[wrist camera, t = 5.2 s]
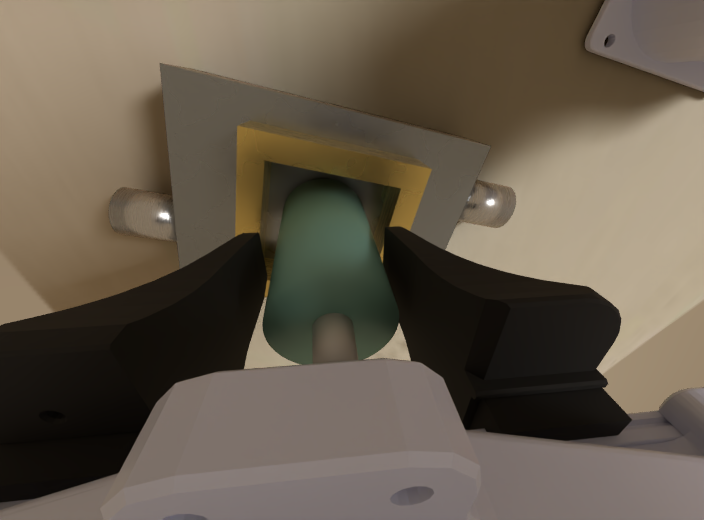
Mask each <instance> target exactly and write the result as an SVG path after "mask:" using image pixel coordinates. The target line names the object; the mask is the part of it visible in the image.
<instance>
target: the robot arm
mask: <svg viewBox="0 0 704 520" xmlns="http://www.w3.org/2000/svg"><path fill="white" fill-rule="evenodd" d="M607 37H608V42H607V44H606V46H604V42H605V39H606V38H607ZM585 48H586V50H588V51H589V52H592V53H595V54H597V55H600V56H603V57H606V58H609V59H612V60H614V61H617V62H620V63H623V64H626V65H629V66H631V67H634V68H637V69H640V70H643V71H646V72H648V73H651V74H654V75H657V76H660V77H663V78H665V79H668V80H671V81H674V82H677V83H680V84H682V85H685V86H688V87H691V88H694V89H697V90H699V91H702V92H704V0H605V1H604V3H603V5H602V7H601V9H600V11H599V13H598V15H597V17H596V19H595V21H594V23H593V25H592V27H591V29H590V31H589V33H588V35H587V37H586V40H585ZM383 266H384V269H385V272H386V274H387V277H388V280H389V283H390V286H391V289H392V292H393V295H394V297H395V300H396V303H397V306H398V310H399V323H400V326H401V328H402V331H403V334H404V337H405V340H406V343H407V347H408V351H409V354H410V358H411V361H406V360H396V359H387V358H380V359H367V360H355V361H342V362H330V363H317V364H305V365H292V366H280V367H267V368H255V369H244V366H245V360H246V355H247V351H248V348H249V344H250V341H251V338H252V334H253V331H254V328H255V325H256V322H257V319H258V316H259V313H260V310H261V306H262V303H263V300H264V297H265V291H266V284H267V277H268V276H267V271H266V265H265V260H264V255H263V250H262V245H261V240H260V235H259V232H256V233H242V234H239V235H238V236H236V237H234V238H232V239H231V240H229V241H227V242H226V243H224V244H223V245H221V246H219V247H218V248H216V249H214V250H213V251H211V252H210V253H208V254H206V255H204V256H203V257H201V258H199V259H197V260H196V261H194V262H192V263H190V264H188V265H187V266H185V267H183V268H181V269H179V270H177V271H175V272H173V273H170V274H168V275H166V276H164V277H162V278H159V279H157V280H155V281H152V282H150V283H147V284H144V285H142V286H139V287H136V288H134V289H131V290H128V291H126V292H123V293H120V294H117V295H114V296H111V297H108V298H105V299H101V300H98V301H95V302H91V303H88V304H84V305H81V306H77V307H74V308H70V309H66V310H62V311H58V312H54V313H50V314H46V315H41V316H37V317H33V318H29V319H24V320H20V321H16V322H11V323H7V324H3V325H1V326H0V520H704V387H698V388H687V389H684V390H680V391H678V392H675V393H673V394H672V395H670V396H669V397H668V398H667V399H666V400H665V401H664V402H663V403H662V404H661V406H660V407H659V411H650V412H640V413H631V414H626V413H625V411H623V410H622V409H621V407H620V406H619V405H618V404H617V403H616V402H615V401H614V400H613V399H612V398H611V397H610V396H609V395H608V394H607V393H606V391H604V389H603V387H606V386H607V384H608V382H607V379H606V378H604V376H603V375H602V374H601V373H600V372H599V371H598V370H597V369H596V368H597V367H598V365H599V364H600V362H601V361H602V359H603V358H604V356H605V355H606V353H607V352H608V350H609V349H610V348H611V346H612V345H613V343H614V341H615V340H616V338H617V336H618V334H619V331H620V324H621V317H620V313H619V310H618V309H617V308H616V307H615V306H614V305H613V304H612V303H610V302H609V301H608V300H606V299H605V298H604V297H602V296H601V295H599V294H598V293H597V292H595V291H594V290H593V289H591V288H589V287H587V286H580V285H573V284H566V283H559V282H552V281H545V280H539V279H535V278H530V277H525V276H520V275H516V274H511V273H507V272H503V271H500V270H496V269H493V268H490V267H486V266H483V265H480V264H477V263H474V262H472V261H469V260H466V259H464V258H461V257H459V256H456V255H454V254H452V253H450V252H448V251H446V250H444V249H441V248H439V247H437V246H436V245H434V244H432V243H430V242H428V241H426V240H425V239H423V238H421V237H419V236H418V235H416V234H414V233H413V232H411V231H409V230H407V229H405V228H403V227H401V226H394V227H385V234H384V250H383Z"/></svg>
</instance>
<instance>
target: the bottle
mask: <svg viewBox="0 0 704 520" xmlns="http://www.w3.org/2000/svg"><path fill="white" fill-rule="evenodd" d="M398 323H399V310H398V306H397V303H396V300H395V297H394V295H393V292H392V289H391V286H390V283H389V280H388V277H387V274H386V272H385V269H384V266H383V263H382V260H381V257H380V254H379V251H378V249H377V246H376V243H375V240H374V237H373V234H372V231H371V228H370V226H369V223H368V220H367V217H366V214H365V211H364V208H363V205H362V203H361V201H360V199H359V197H358V195H357V194H356V193H355V192H354V191H353V190H352V189H351V188H350V187H349V186H347V185H346V184H344V183H342V182H339V181H337V180H333V179H325V178H324V179H314V180H310V181H307V182H305V183H303V184H301V185H300V186H298V187H297V188H296V189H294V190H293V191H292V192H291V194H290V195H289V196H288V198H287V200H286V202H285V205H284V208H283V213H282V219H281V224H280V230H279V235H278V241H277V246H276V251H275V257H274V262H273V268H272V273H271V279H270V284H269V289H268V295H267V300H266V306H265V311H264V317H263V332H264V336H265V338H266V340H267V342H268V343H269V345H270V346H271V347H272V348H273V349H274V350H275V351H276V352H277V353H278V354H280V355H281V356H283V357H284V358H286V359H288V360H290V361H293V362H295V363H298V364H302V365H305V364H317V363H330V362H342V361H355V360H363V359H366V358H368V357H370V356H371V355H373V354H375V353H376V352H378V351H379V350H381V349H382V348H383V347H384V346H385V345H386V344H387V343H388V342H389V341H390V340H391V338H392V337H393V336H394V334H395V332H396V330H397V327H398Z"/></svg>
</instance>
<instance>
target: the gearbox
mask: <svg viewBox="0 0 704 520" xmlns="http://www.w3.org/2000/svg"><path fill="white" fill-rule="evenodd" d="M160 72H161V82H162V92H163V102H164V113H165V123H166V133H167V144H168V154H169V164H170V175H171V185H172V195H167V194H161V193H155V192H150V191H144V190H138V189H132V188H126V187H123V188H120V189H118V190H117V191H116V192H115V193H114V195H113V197H112V199H111V201H110V205H109V221H110V224H111V226H112V228H113V229H114V231H115V232H117V233H119V234H123V235H131V236H138V237H145V238H152V239H159V240H166V241H173V242H177V247H178V257H179V267H180V269H181V268H183V267H185V266H187V265H188V264H190V263H192V262H194V261H196V260H197V259H199V258H201V257H203V256H204V255H206V254H208V253H210V252H211V251H213V250H214V249H216V248H218V247H219V246H221V245H223V244H224V243H226V242H227V241H229V240H231V239H232V238H234V237H236V236H238V235H239V234H242V233H256V232H259V235H260V240H261V245H262V250H263V255H264V260H265V265H266V271H267V276H268V277H267V284H266V291H265V297H267V295H268V289H269V284H270V279H271V273H272V268H273V262H274V257H275V251H276V246H277V241H278V235H279V230H280V224H281V219H282V213H283V208H284V205H285V202H286V200H287V198H288V196H289V195H290V194H291V192H292V191H293V190H294V189H296V188H297V187H298V186H300V185H301V184H303V183H305V182H307V181H310V180H314V179H324V178H325V179H333V180H337V181H339V182H342V183H344V184H346V185H347V186H349V187H350V188H351V189H352V190H353V191H354V192H355V193H356V194H357V195H358V197H359V199H360V201H361V203H362V205H363V208H364V211H365V214H366V217H367V220H368V223H369V226H370V228H371V231H372V234H373V237H374V240H375V243H376V246H377V249H378V251H379V254H380V257H381V260H382V263H383V250H384V234H385V227H394V226H401V227H403V228H405V229H407V230H409V231H411V232H413V233H414V234H416V235H418V236H419V237H421V238H423V239H425V240H426V241H428V242H430V243H432V244H434V245H436V246H437V247H439V248H441V249H444V250H445V249H446V247H447V245H448V242H449V240H450V238H451V236H452V233H453V231H454V229H455V227H456V224H457V222H458V221H460V222H466V223H471V224H476V225H482V226H487V227H492V228H499V227H501V226H503V225H504V224H506V223H507V222H508V220H509V219H510V218H511V216H512V214H513V212H514V209H515V205H516V195H515V192H514V191H513V189H512V188H510V187H507V186H502V185H498V184H494V183H489V182H485V181H480V180H476V179H477V177H478V175H479V172H480V170H481V168H482V166H483V163H484V161H485V159H486V157H487V154H488V152H489V150H490V147H491V146H488V145H485V144H482V143H479V142H476V141H473V140H470V139H467V138H464V137H460V136H456V135H452V134H448V133H444V132H440V131H436V130H432V129H428V128H424V127H420V126H416V125H412V124H408V123H404V122H400V121H397V120H393V119H389V118H385V117H381V116H377V115H373V114H369V113H365V112H361V111H357V110H353V109H349V108H345V107H341V106H337V105H333V104H329V103H325V102H321V101H317V100H314V99H310V98H306V97H302V96H298V95H294V94H290V93H286V92H282V91H278V90H274V89H270V88H266V87H262V86H258V85H254V84H250V83H246V82H242V81H238V80H234V79H231V78H227V77H223V76H219V75H215V74H211V73H207V72H203V71H199V70H195V69H191V68H185V67H179V66H174V65H168V64H162V63H160Z"/></svg>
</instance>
